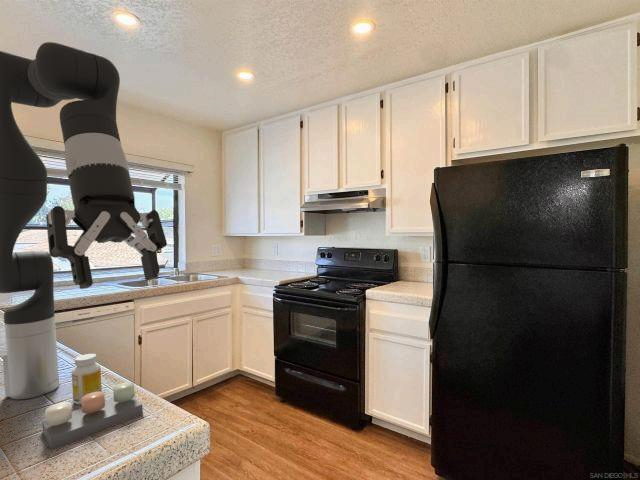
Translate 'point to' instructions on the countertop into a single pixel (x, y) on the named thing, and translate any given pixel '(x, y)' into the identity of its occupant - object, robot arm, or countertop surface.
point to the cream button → (58, 413)
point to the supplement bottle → (85, 377)
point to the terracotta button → (93, 402)
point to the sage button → (124, 392)
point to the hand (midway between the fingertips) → (121, 282)
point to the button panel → (91, 421)
